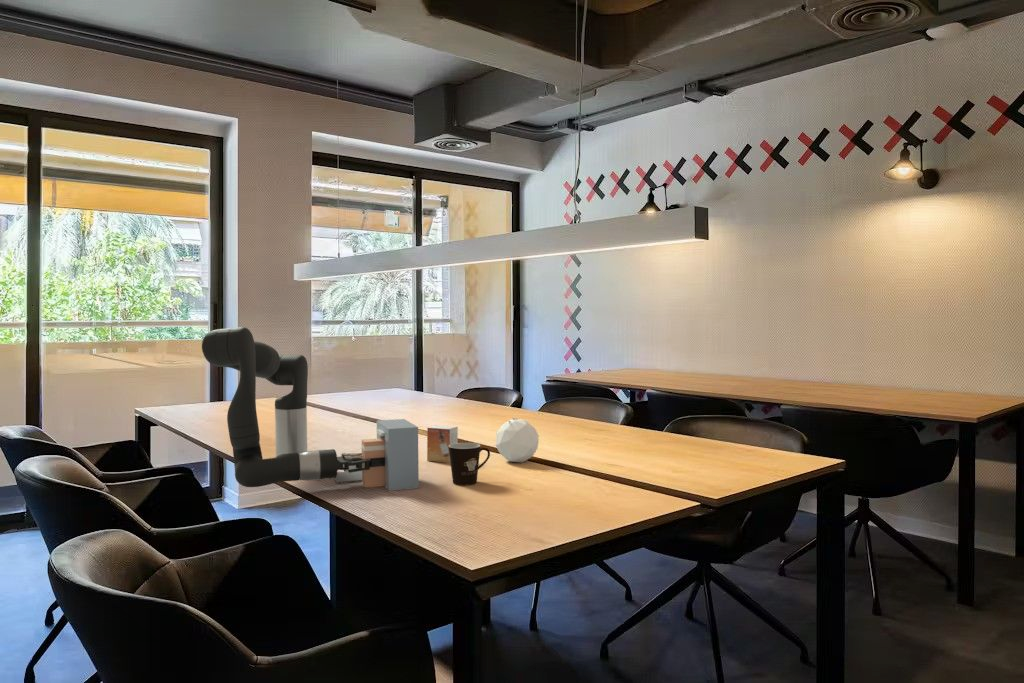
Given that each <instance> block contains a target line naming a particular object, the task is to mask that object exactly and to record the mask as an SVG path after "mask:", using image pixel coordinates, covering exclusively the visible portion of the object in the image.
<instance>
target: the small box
mask: <svg viewBox="0 0 1024 683" xmlns="http://www.w3.org/2000/svg"><path fill="white" fill-rule="evenodd" d="M458 428H459V427H458V426H449V425H447V426H446V425H431V426H429V427H427V433H426V434H427V435H426V438H427V441H426V444H427V446H426V450H427V451H426V457H427V458H426V461H427V462H439V463H444V464H445V463H446V464H451V463H450V454H449V445H451V444H456V443H459V442H458V440H459V438H458V437H459V434H458V432H459V431H458Z"/></svg>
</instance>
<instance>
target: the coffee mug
mask: <svg viewBox="0 0 1024 683" xmlns="http://www.w3.org/2000/svg"><path fill="white" fill-rule="evenodd" d="M483 450H485V451H486V452H487V456H486V458H485V460H484V461H483V462H482V463H481V464H480V456H481V454H480V453H481V452H482V451H483ZM449 454H450V463H449V464H450V470H451V478H452V484H454V485H456V486H472V485H476V484H477V482H478V481H477V480H478V473H479V472H478V471H479V470H480V469H481V468H482V467H483V466H484V465H485V464H486V463H487V462H488V460H489V458H490V457H491V451H490V449H488V448H487V447H481V444H479V443H474V442H458V443H456V444H451V445H449ZM479 464H480V465H479Z"/></svg>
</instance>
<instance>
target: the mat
mask: <svg viewBox="0 0 1024 683" xmlns="http://www.w3.org/2000/svg"><path fill="white" fill-rule="evenodd" d="M333 479H334V481H336V482H335V483H336V484H339V485H340V484H349V483H362V471H357V472H352V473H350V472H344V471H337V476H336V478H333Z"/></svg>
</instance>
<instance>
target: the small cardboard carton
mask: <svg viewBox="0 0 1024 683" xmlns="http://www.w3.org/2000/svg"><path fill="white" fill-rule="evenodd" d="M361 453H362V458H380V457H384V458H385V439H384V438H379V439H377V438H367V439H361ZM362 466H365V463H362ZM361 483H362V484H361V485H362V486H363V487H364V488H375V487H385V466H377V467H371V468H370V469H369V470H363V471H362V482H361Z"/></svg>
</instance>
